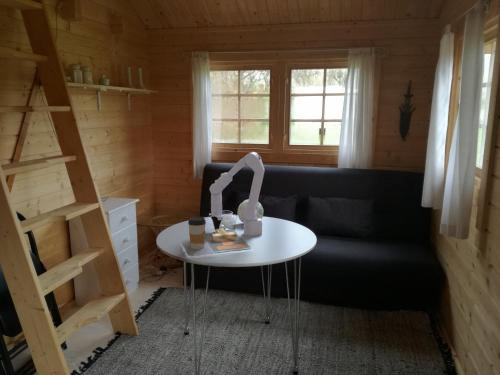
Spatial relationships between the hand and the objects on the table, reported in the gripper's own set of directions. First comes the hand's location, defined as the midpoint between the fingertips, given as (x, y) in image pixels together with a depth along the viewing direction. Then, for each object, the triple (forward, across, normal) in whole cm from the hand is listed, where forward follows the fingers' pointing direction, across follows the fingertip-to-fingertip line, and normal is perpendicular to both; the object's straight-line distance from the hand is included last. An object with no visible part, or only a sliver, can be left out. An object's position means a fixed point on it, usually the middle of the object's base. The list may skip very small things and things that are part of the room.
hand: (216, 229), depth 216 cm
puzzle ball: (+2, -11, +23) cm, 25 cm away
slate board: (+2, +17, 0) cm, 17 cm away
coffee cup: (+2, +21, -15) cm, 26 cm away
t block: (+1, +11, 0) cm, 11 cm away
